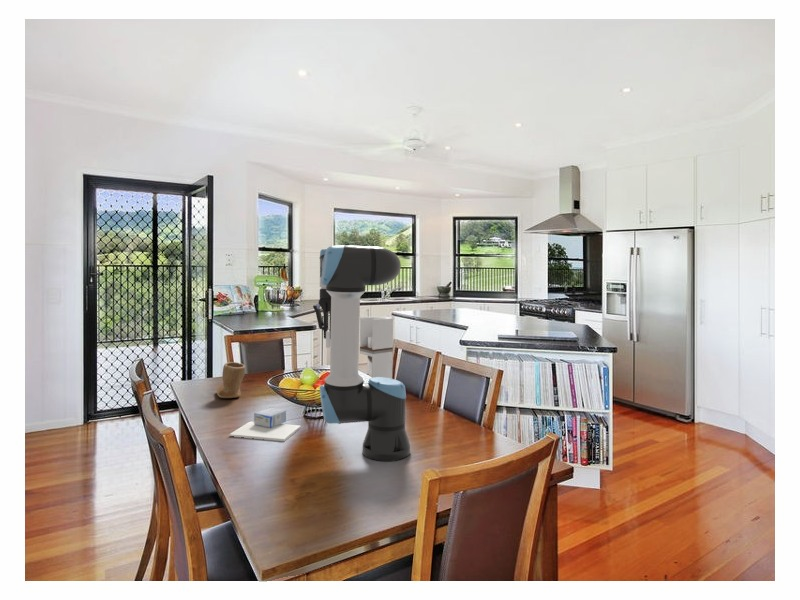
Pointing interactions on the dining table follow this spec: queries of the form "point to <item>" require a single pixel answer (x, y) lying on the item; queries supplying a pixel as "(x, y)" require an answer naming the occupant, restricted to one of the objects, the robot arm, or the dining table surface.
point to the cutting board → (266, 431)
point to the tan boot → (231, 380)
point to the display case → (377, 345)
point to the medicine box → (270, 417)
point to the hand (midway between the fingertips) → (328, 346)
